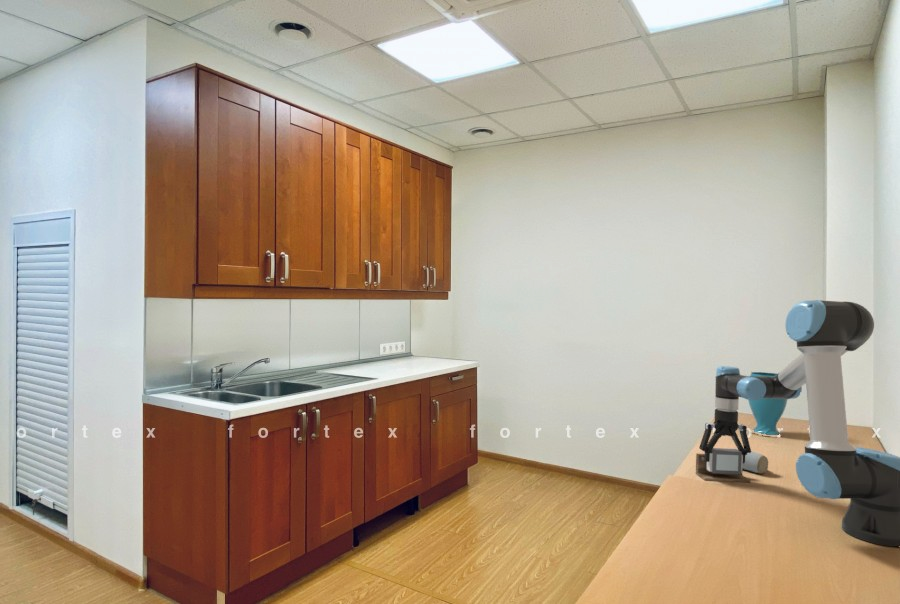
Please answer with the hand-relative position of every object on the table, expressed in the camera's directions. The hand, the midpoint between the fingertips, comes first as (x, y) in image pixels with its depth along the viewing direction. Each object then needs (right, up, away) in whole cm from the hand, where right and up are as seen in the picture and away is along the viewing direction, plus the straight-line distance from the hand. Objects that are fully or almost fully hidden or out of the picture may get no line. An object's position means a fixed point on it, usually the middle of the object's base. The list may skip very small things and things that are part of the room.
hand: (724, 471), depth 194 cm
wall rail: (0, -3, +1) cm, 3 cm away
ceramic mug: (+17, -4, +12) cm, 21 cm away
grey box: (0, 0, 0) cm, 0 cm away
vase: (+59, -5, +75) cm, 96 cm away
